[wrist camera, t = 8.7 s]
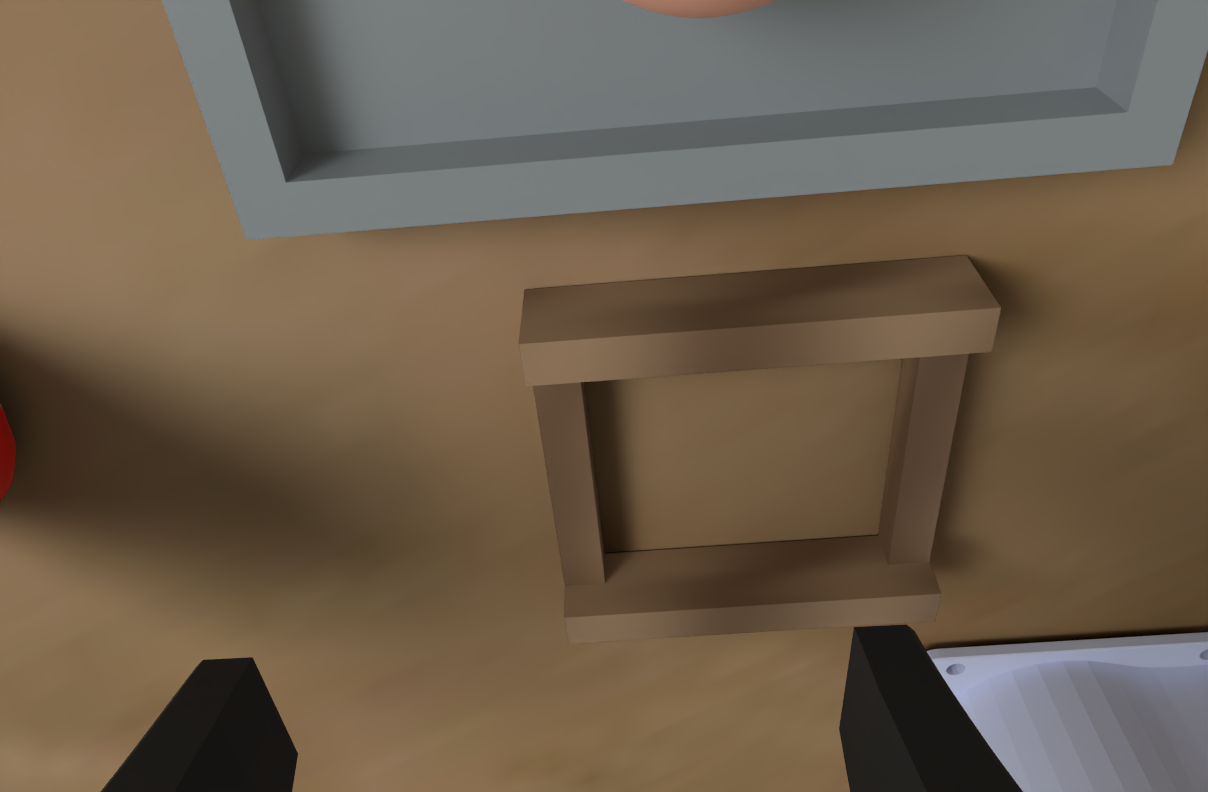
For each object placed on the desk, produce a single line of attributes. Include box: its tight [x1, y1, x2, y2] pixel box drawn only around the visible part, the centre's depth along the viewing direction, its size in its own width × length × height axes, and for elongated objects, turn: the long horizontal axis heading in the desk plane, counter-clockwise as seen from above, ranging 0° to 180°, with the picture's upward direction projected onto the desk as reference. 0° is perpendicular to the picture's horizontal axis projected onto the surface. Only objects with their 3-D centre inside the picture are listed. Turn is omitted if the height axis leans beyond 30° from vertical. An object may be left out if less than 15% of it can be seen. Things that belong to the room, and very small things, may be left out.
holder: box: [519, 255, 1001, 644], centre depth 21 cm, size 9×9×2 cm
